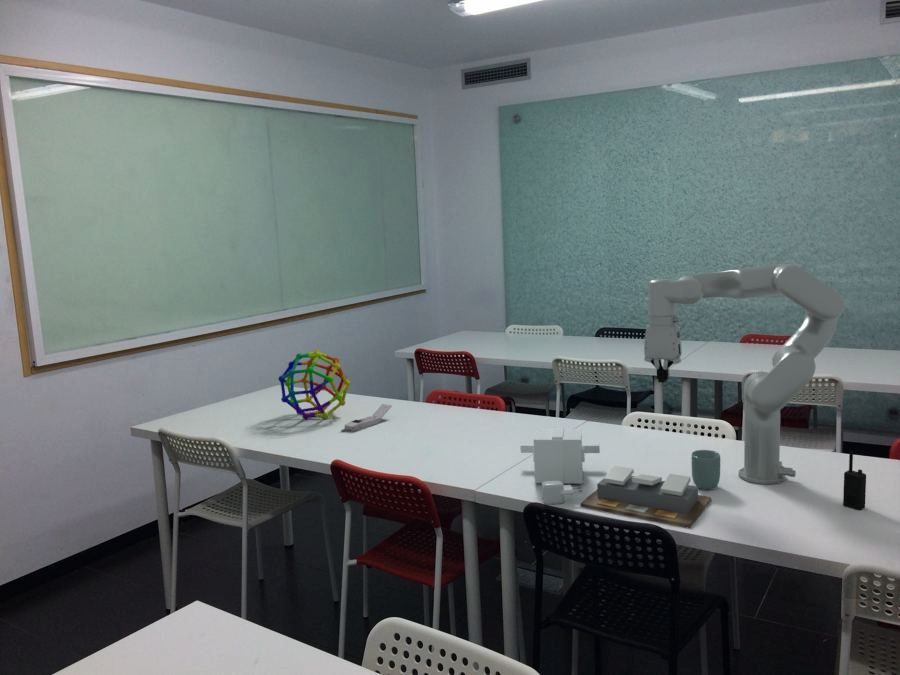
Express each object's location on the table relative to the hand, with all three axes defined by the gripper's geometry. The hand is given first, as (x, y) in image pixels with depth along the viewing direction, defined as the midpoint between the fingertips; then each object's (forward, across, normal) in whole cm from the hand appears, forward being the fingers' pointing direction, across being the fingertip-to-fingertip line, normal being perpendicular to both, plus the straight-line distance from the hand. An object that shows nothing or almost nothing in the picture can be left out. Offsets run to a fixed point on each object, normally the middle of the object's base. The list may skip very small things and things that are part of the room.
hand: (662, 381), depth 213 cm
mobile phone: (+30, +123, -4) cm, 127 cm away
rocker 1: (+23, +5, +23) cm, 33 cm away
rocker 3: (+23, -11, +23) cm, 34 cm away
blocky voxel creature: (+29, +30, +11) cm, 43 cm away
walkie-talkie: (+29, -51, +2) cm, 59 cm away
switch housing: (+29, -3, +23) cm, 37 cm away
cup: (+29, -14, +5) cm, 33 cm away
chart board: (+29, -3, +24) cm, 38 cm away
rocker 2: (+23, -3, +23) cm, 33 cm away
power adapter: (+29, +18, +33) cm, 48 cm away
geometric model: (+29, +152, -3) cm, 155 cm away
